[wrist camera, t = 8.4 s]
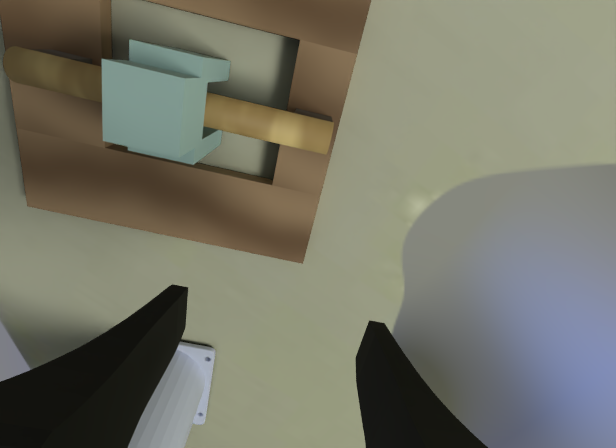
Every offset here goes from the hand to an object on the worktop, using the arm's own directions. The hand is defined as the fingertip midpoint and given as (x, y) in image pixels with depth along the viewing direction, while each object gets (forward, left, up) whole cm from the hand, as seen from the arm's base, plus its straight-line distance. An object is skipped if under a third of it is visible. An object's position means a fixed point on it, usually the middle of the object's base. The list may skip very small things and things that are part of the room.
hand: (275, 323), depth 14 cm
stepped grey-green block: (+6, +7, -10) cm, 13 cm away
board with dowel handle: (+6, +8, -10) cm, 14 cm away
